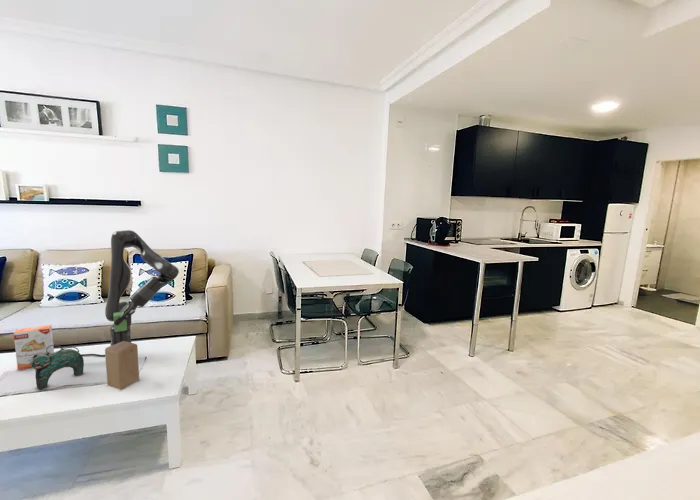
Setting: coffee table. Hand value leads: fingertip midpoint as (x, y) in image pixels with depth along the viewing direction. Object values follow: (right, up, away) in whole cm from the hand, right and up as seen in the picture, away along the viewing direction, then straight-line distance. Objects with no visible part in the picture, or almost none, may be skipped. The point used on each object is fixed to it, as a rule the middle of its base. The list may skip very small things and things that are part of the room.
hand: (115, 322), depth 159 cm
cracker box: (-55, -27, +18) cm, 65 cm away
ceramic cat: (-32, -31, +5) cm, 45 cm away
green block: (+1, -4, +2) cm, 4 cm away
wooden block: (0, -32, +6) cm, 33 cm away
